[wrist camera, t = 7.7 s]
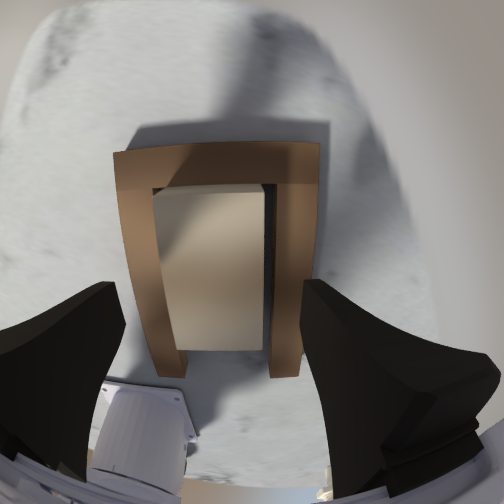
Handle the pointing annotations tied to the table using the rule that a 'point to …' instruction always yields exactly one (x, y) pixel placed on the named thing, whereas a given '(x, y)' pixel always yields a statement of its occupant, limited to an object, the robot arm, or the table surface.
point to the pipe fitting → (327, 491)
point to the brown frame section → (213, 173)
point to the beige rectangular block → (212, 264)
